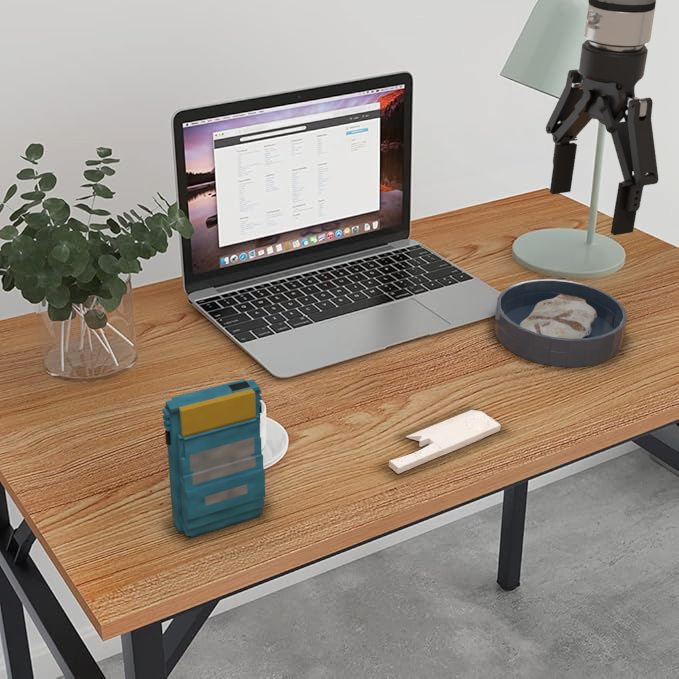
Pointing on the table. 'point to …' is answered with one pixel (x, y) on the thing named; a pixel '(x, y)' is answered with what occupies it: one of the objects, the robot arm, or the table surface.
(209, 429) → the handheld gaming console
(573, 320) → the stone
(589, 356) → the bowl
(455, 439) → the white plastic strip tool
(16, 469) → the table surface
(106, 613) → the table surface
